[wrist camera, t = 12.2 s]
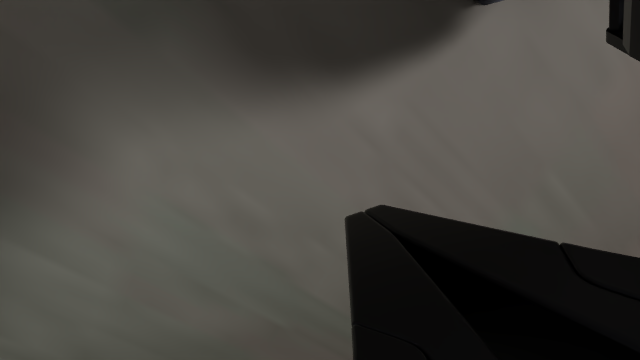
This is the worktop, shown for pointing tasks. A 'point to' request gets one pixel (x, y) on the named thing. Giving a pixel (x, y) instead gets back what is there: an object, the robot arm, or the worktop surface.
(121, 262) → the worktop surface
